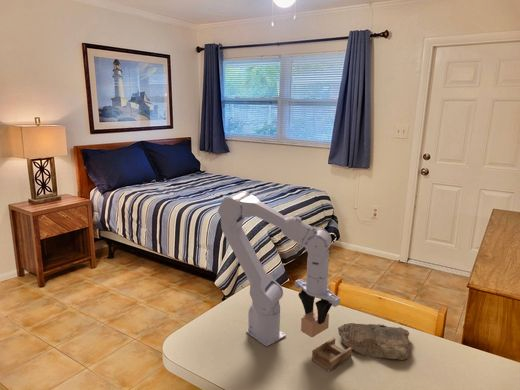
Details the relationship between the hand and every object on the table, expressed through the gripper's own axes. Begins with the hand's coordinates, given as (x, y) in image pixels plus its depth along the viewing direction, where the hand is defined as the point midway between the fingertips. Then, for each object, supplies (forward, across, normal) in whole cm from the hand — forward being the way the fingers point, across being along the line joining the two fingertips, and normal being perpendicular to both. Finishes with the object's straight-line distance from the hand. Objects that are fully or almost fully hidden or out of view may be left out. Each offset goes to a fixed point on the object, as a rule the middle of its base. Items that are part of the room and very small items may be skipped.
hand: (315, 319), depth 106 cm
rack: (+9, -6, 0) cm, 11 cm away
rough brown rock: (+10, -10, -14) cm, 20 cm away
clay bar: (+3, 0, 0) cm, 3 cm away
